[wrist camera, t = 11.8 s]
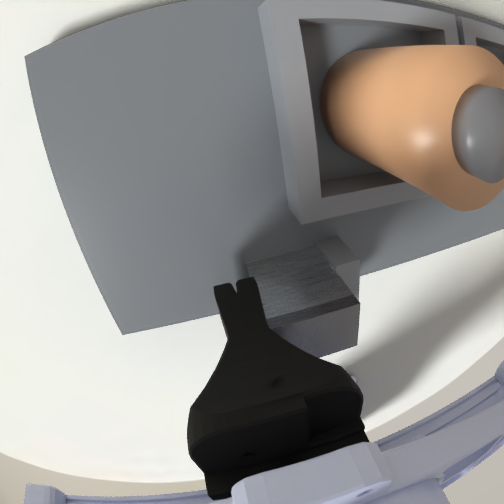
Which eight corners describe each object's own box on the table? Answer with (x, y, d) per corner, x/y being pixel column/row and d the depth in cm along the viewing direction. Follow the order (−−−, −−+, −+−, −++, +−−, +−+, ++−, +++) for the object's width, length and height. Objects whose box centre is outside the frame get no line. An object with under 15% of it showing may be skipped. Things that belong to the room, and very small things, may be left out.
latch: (318, 284, 14) (357, 345, 11) (254, 301, 14) (276, 369, 11) (316, 245, 13) (359, 303, 10) (245, 263, 13) (269, 329, 10)
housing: (504, 216, 17) (537, 237, 14) (125, 318, 15) (117, 366, 12) (508, 32, 11) (548, 36, 8) (37, 58, 8) (-3, 53, 6)
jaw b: (417, 149, 12) (530, 201, 7) (328, 168, 12) (435, 240, 6) (407, 49, 10) (533, 56, 5) (309, 53, 9) (428, 37, 4)
